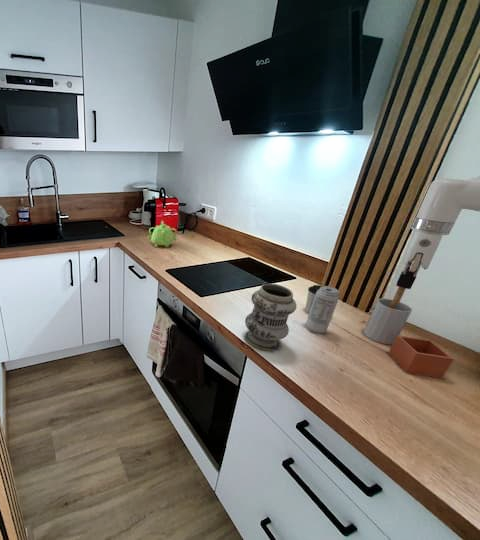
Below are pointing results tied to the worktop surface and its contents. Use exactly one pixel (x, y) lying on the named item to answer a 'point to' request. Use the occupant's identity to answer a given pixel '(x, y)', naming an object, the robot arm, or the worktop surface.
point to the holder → (420, 356)
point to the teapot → (162, 235)
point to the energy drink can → (322, 309)
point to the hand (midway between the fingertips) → (403, 285)
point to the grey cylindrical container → (386, 321)
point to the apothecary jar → (269, 316)
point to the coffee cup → (311, 297)
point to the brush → (397, 298)
